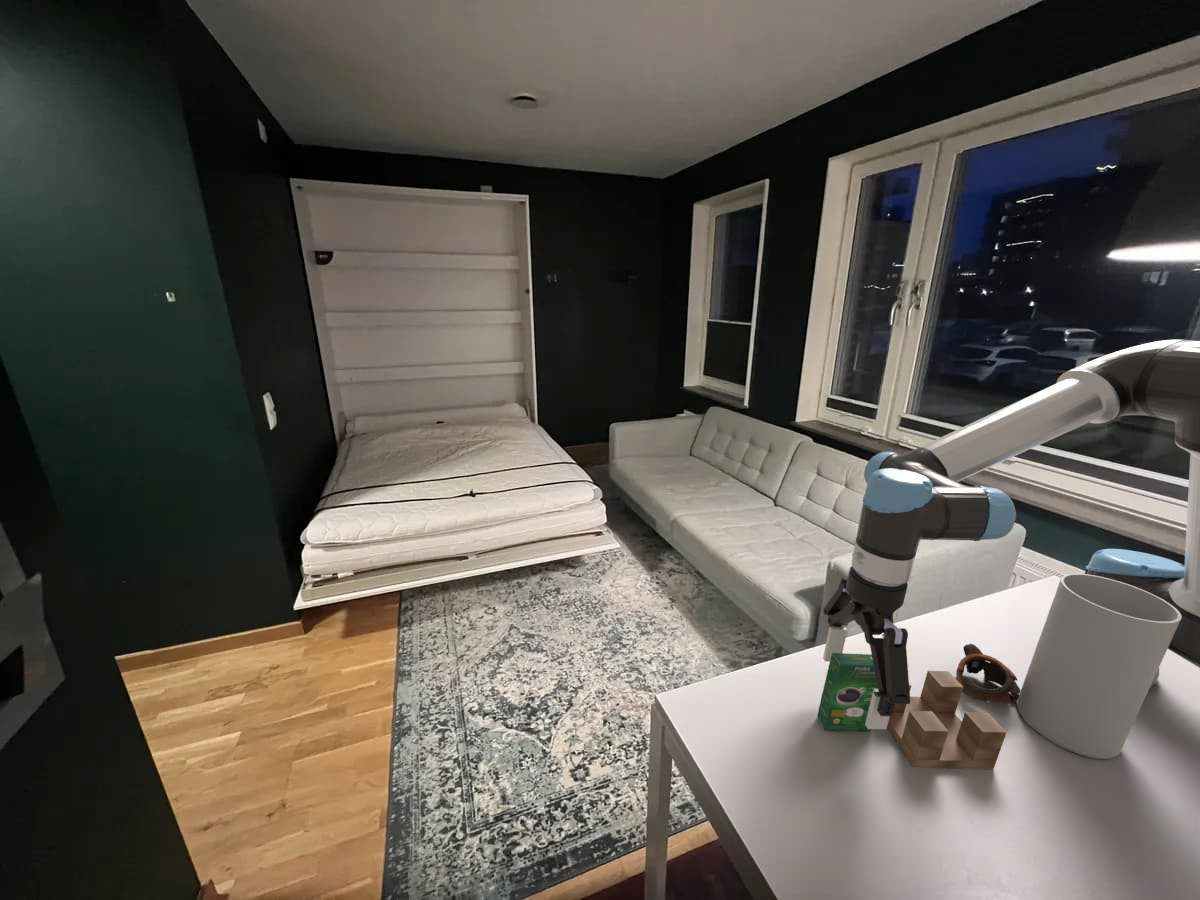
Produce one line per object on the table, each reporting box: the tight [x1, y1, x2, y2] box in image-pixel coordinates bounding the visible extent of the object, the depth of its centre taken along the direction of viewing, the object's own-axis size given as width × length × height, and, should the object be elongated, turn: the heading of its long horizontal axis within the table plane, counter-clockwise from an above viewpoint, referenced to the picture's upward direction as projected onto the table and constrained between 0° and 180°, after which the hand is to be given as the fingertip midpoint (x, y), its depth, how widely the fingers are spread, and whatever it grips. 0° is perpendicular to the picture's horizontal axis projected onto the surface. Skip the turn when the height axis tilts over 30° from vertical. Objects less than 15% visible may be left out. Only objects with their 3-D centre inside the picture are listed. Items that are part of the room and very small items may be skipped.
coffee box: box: [816, 652, 878, 732], centre depth 76 cm, size 8×3×13 cm, turn 90°
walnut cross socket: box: [886, 670, 1007, 770], centre depth 75 cm, size 12×12×7 cm
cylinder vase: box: [1016, 573, 1182, 760], centre depth 75 cm, size 12×12×25 cm
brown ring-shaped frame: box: [954, 643, 1021, 705], centre depth 85 cm, size 12×10×8 cm
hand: (851, 690), depth 75 cm, fingers open, 13 cm apart
